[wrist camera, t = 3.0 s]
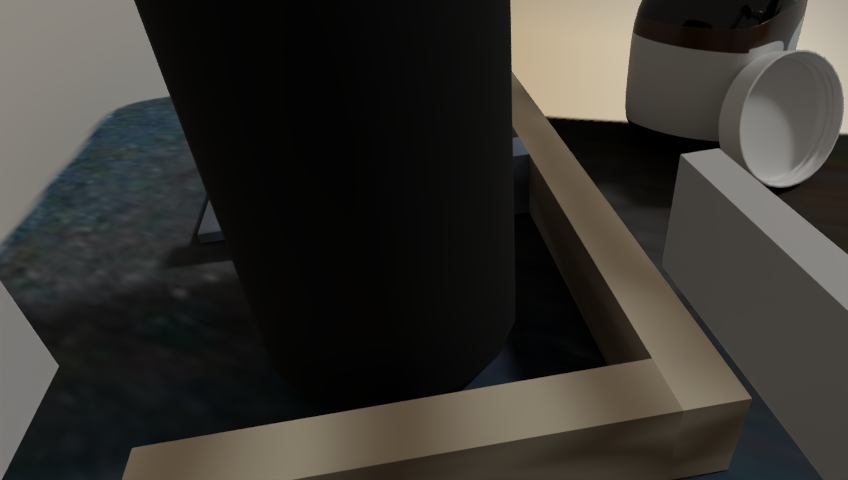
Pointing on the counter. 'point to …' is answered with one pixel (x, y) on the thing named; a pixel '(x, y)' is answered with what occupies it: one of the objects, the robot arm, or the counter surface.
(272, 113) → the coffee jar
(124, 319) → the counter surface
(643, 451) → the divider rack
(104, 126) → the counter surface
